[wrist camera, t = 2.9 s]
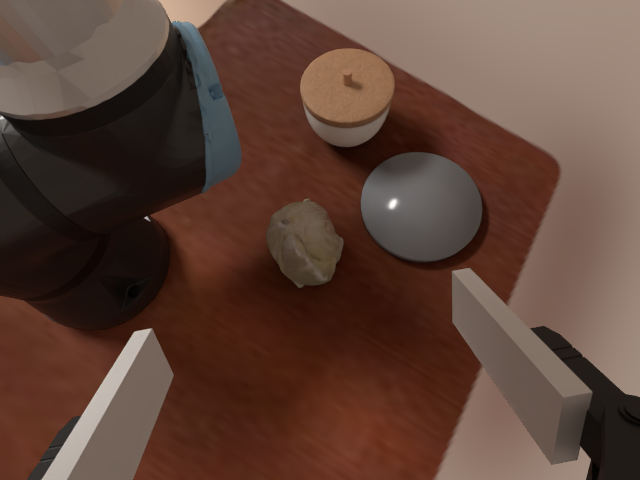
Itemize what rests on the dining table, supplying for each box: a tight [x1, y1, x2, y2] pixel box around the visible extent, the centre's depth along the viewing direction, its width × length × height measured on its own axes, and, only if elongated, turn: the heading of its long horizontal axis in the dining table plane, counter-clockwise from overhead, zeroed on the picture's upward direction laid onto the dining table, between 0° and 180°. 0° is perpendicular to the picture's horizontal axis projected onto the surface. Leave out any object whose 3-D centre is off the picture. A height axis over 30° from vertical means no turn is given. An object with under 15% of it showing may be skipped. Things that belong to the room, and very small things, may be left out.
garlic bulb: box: [266, 199, 344, 288], centre depth 36 cm, size 9×8×10 cm
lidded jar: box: [300, 49, 395, 147], centre depth 42 cm, size 11×11×9 cm
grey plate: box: [361, 152, 482, 263], centre depth 41 cm, size 14×14×1 cm
